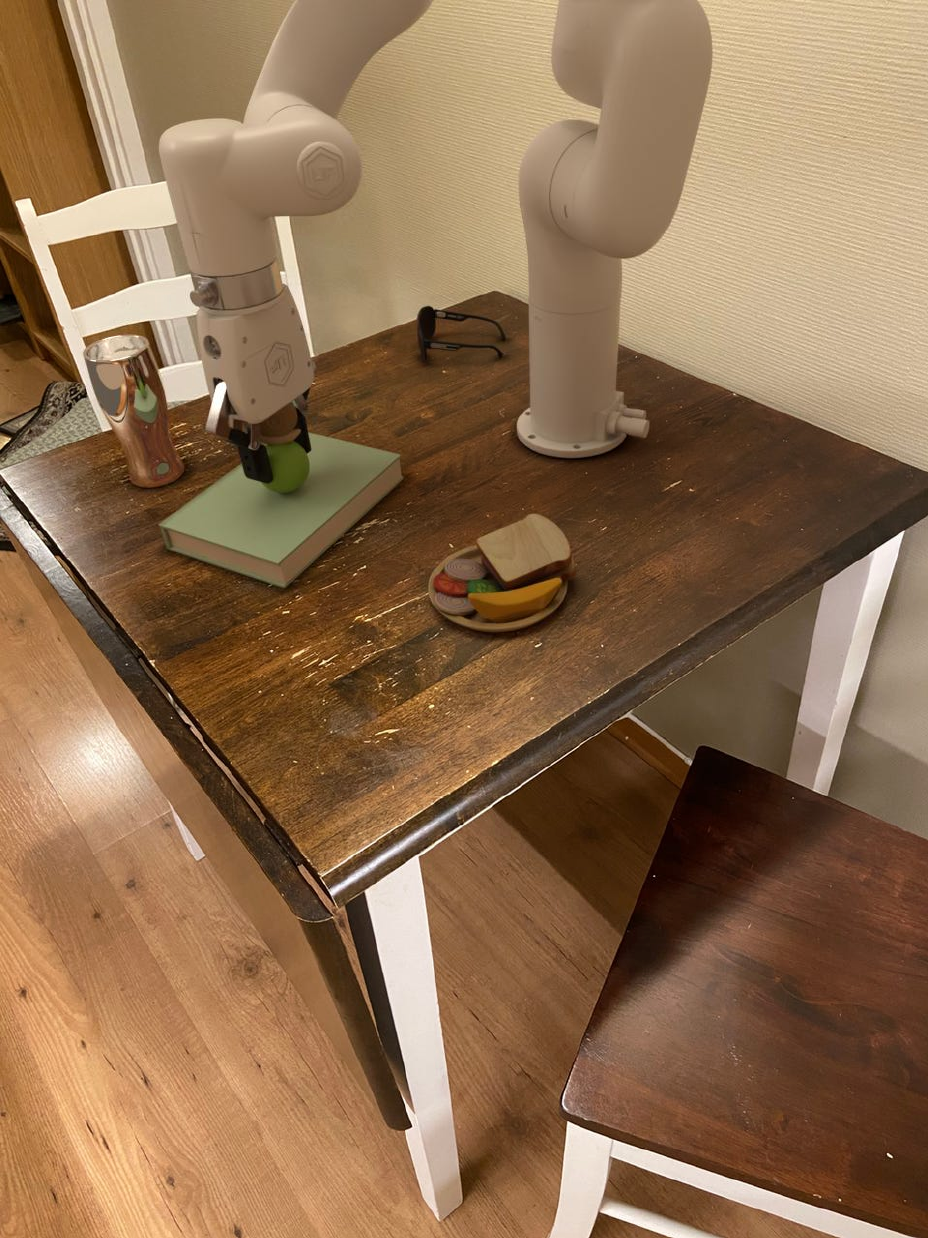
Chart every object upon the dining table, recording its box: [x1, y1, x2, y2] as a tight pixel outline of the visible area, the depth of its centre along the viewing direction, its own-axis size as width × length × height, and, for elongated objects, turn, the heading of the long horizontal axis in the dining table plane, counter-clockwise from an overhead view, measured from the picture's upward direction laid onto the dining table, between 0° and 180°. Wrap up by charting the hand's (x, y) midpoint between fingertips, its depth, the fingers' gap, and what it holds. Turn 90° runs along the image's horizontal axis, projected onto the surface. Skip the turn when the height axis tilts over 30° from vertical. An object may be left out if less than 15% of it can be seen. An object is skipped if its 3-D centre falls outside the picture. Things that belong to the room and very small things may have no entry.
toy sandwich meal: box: [427, 513, 577, 633], centre depth 78 cm, size 12×14×5 cm
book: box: [158, 431, 405, 589], centre depth 91 cm, size 15×21×3 cm
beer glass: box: [82, 333, 185, 489], centre depth 95 cm, size 7×7×15 cm
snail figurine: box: [242, 402, 310, 493], centre depth 86 cm, size 5×6×12 cm
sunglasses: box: [416, 305, 506, 361], centre depth 119 cm, size 10×12×5 cm
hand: (278, 462), depth 88 cm, fingers closed on snail figurine, 5 cm apart
